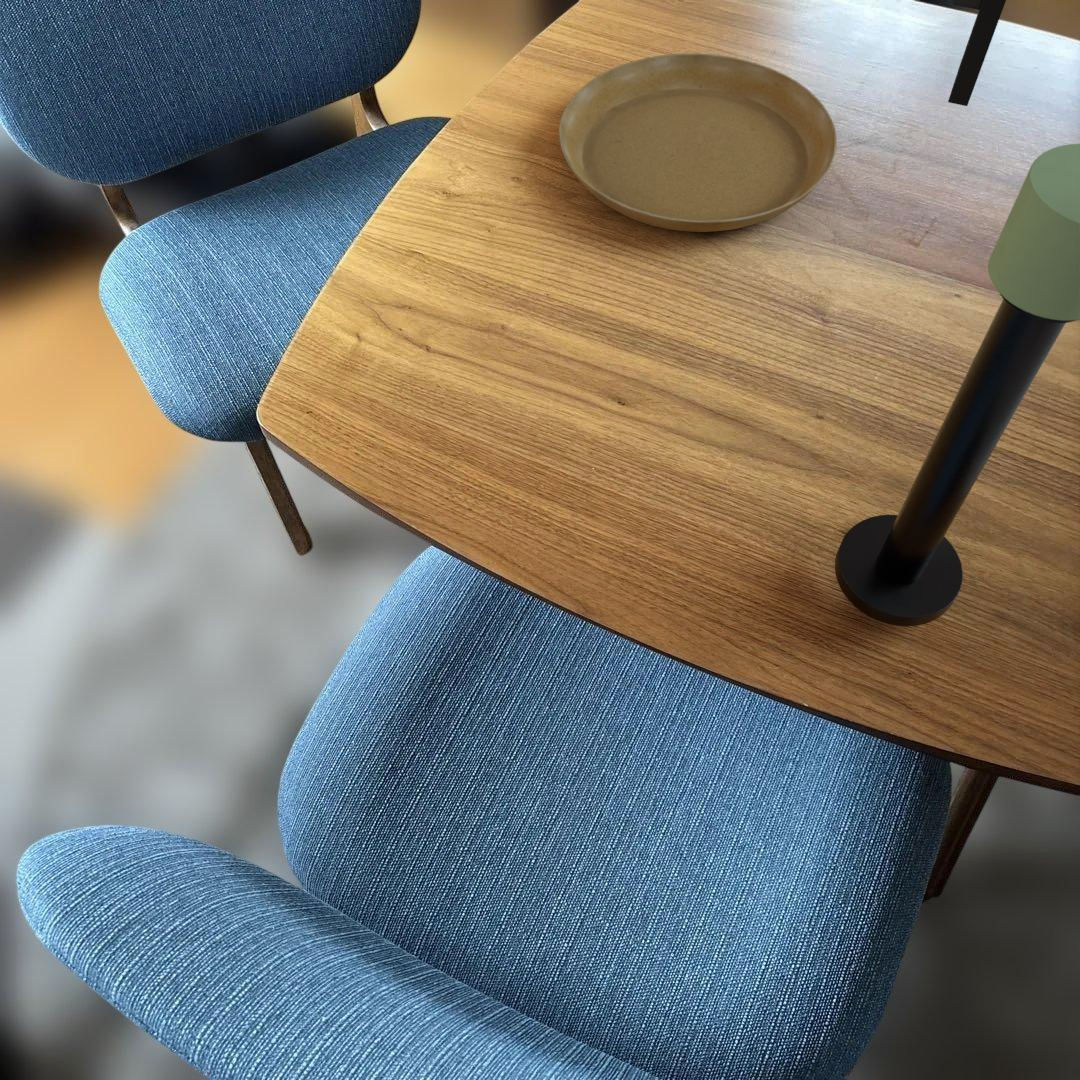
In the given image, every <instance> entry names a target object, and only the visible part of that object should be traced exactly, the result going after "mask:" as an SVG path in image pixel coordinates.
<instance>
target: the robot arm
mask: <svg viewBox="0 0 1080 1080" xmlns="http://www.w3.org/2000/svg"><path fill="white" fill-rule="evenodd" d="M952 2H953V3H952V4H953V6H956V7H961V8H968V9H971V10H978V11H977V15H976V17H975V19H974V23H973V25H972V28H971V32H970V35H969V37H968V41H967V43H966V45H965V48H964V51H963V52H964V53H963V55H962V58H961V60H960V63H959V66H958V70H957V73H956V75H955V79H954V82H953V85H952V87H951V91H950V94H949V97H948V100H947V103H950V104H955V105H959V106H965V107H968V106H969V102H970V99H971V97H972V94H973V92H974V89H975V87H976V84H977V80H978V78H979V75H980V73H981V70H982V67H983V65H984V62H985V60H986V56H987V54H988V51H989V48H990V45H991V43H992V40H993V37H994V34H995V32H996V29H997V26H998V24H999V21H1000V18H1001V15H1002V13H1003V10H1004V7H1005V6H1006V2H1007V0H952Z"/></svg>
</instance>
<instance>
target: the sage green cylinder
mask: <svg viewBox="0 0 1080 1080" xmlns="http://www.w3.org/2000/svg"><path fill="white" fill-rule="evenodd" d="M987 269H988V275H989V279H990V281H991V283H992V285H993V286H994V288H995V290H997V292H998V294H999V295H1000V294H1001V295H1002V296H1003V297H1004V298H1005V299H1007V300H1008V301H1009V302H1011V303H1012V304H1013V305H1015V306H1017V307H1018V308H1020V309H1022V310H1024V311H1026V312H1029V313H1031V314H1034V315H1037V316H1040V317H1044V318H1048V319H1054V320H1067V321H1069V320H1076V321H1078V320H1079V321H1080V143H1069V144H1064V145H1063V144H1062V145H1060V146H1055V147H1053V148H1050V149H1048V150H1046V151H1044V152H1042V153H1041V154H1040V155H1039V156H1037V157H1036V158H1035V159H1034V161H1033V162H1032V163H1031V166H1030V168H1029V170H1028V172H1027V173H1026V176H1025V179H1024V181H1023V183H1022V185H1021V188H1020V189H1019V191H1018V194H1017V197H1016V198H1015V201H1014V203H1013V205H1012V208H1011V210H1010V211H1009V213H1008V216H1007V218H1006V220H1005V223H1004V225H1003V227H1002V230H1001V232H1000V234H999V237H998V238H997V241H996V243H995V245H994V247H993V249H992V252H991V253H990V256H989V259H988V264H987ZM1001 295H1000V296H1001Z"/></svg>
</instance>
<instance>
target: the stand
mask: <svg viewBox="0 0 1080 1080" xmlns="http://www.w3.org/2000/svg"><path fill="white" fill-rule="evenodd" d="M999 295H1000V297H1001V298H1002V301H1001V303H1000V305H999V306H998V309H997V311H996V313H995V315H994V317H993V319H992V321H991V323H990V325H989V327H988V328H987V331H986V333H985V336H984V338H983V340H982V341H981V344H980V346H979V348H978V349H977V352H976V353H975V356H974V359H973V360H972V362H971V364H970V366H969V369H967V370H968V371H967V373H966V375H965V376H964V379H963V381H962V383H961V385H960V386H959V389H958V390H957V393H956V395H955V397H954V399H953V401H952V403H951V405H950V407H949V408H948V412H947V414H946V415H945V417H944V420H943V422H942V423H941V426H940V428H939V429H938V432H937V434H936V436H935V438H934V440H933V442H932V445H931V447H930V449H929V450H928V453H927V454H926V457H925V459H924V461H923V463H922V465H921V467H920V468H919V471H918V473H917V475H916V477H915V478H914V481H913V484H912V485H911V488H910V490H909V492H908V494H907V496H906V498H905V501H904V502H903V504H902V506H901V508H900V510H899V512H898V514H881V515H874V516H871V517H867V518H866V519H862V520H861V521H859V522H858V523H856V524H854V525H853V526H852V527H851V528H850V529H849V530H848V531H847V532H846V534H844V537H843V538H842V540H841V542H840V545H839V547H838V550H837V552H836V555H835V558H834V559H835V560H834V574H835V578H836V580H837V583H838V586H839V588H840V590H841V592H842V593H843V595H844V596H845V598H846V599H847V600H848V601H849V602H850V603H851V604H852V605H853V606H854V607H855V608H856V609H857V610H858V611H860V612H861V613H863V614H864V615H865V616H867V617H869V618H870V619H873V620H875V621H877V622H880V623H882V624H883V623H884V624H886V625H890V626H896V627H918V626H922V625H925V624H928V623H929V624H930V623H931V622H934V621H936V620H938V619H939V618H940V617H942V616H943V615H944V614H946V612H947V611H949V609H950V608H951V606H952V605H953V603H954V602H955V600H956V599H957V597H958V595H959V593H960V591H961V589H962V586H963V582H964V581H963V580H964V572H963V566H962V562H961V558H960V557H959V554H958V553H957V550H956V549H955V547H954V546H953V544H952V543H951V542H950V541H949V540H948V539H947V538H946V534H947V532H948V531H949V529H950V527H951V526H952V524H953V522H954V521H955V518H956V517H957V515H958V513H959V511H960V509H961V508H962V506H963V504H964V502H965V501H966V499H967V497H968V495H969V494H970V492H971V490H972V488H973V486H975V483H976V481H977V480H978V478H979V476H980V474H981V473H982V470H983V469H984V468H985V466H986V464H987V462H988V460H989V459H990V457H991V455H992V453H993V452H994V450H995V449H996V447H997V445H998V443H999V442H1000V440H1001V438H1002V436H1003V434H1004V432H1005V430H1006V429H1007V427H1008V426H1009V424H1010V422H1011V420H1012V419H1013V416H1014V415H1015V413H1016V411H1017V410H1018V408H1019V406H1020V404H1021V402H1022V401H1023V399H1024V397H1025V395H1026V394H1027V392H1028V390H1029V389H1030V387H1031V385H1032V384H1033V381H1034V380H1035V378H1036V376H1037V374H1038V373H1039V371H1040V370H1041V367H1042V366H1043V364H1044V362H1045V360H1046V359H1047V357H1048V355H1049V354H1050V351H1051V350H1052V348H1053V346H1054V345H1055V343H1056V341H1057V339H1058V338H1059V336H1060V334H1061V332H1062V331H1063V329H1064V327H1065V325H1066V324H1067V323H1072V322H1076V321H1077V320H1069V321H1067V320H1054V319H1048V318H1044V317H1040V316H1037V315H1034V314H1031V313H1029V312H1026V311H1024V310H1022V309H1020V308H1018V307H1017V306H1015V305H1013V304H1012V303H1011V302H1009V301H1008V300H1007V299H1005V298H1004V297H1003V296H1002V295H1001V294H1000V293H999Z"/></svg>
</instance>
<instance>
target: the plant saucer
mask: <svg viewBox="0 0 1080 1080" xmlns="http://www.w3.org/2000/svg"><path fill="white" fill-rule="evenodd" d="M558 138H559V145H560V149H561V152H562V154H563V157H564V159H565V162H566V163H567V166H568V167H569V169H570V170H571V172H572V173H573V175H574V176H575V177H576V179H577V180H578V182H579V183H580V184H581V185H582V186H583V187H584V188H585V189H586V190H587V191H588V192H589V193H590V195H593V196H594V197H595V198H596V199H597V200H599V201H600V202H601V203H603V204H604V205H605V206H607V207H608V208H610V209H612V210H614V211H616V212H618V213H619V214H622V215H624V216H625V217H628V218H630V219H632V220H634V221H638V222H640V223H643V224H646V225H650V226H653V227H657V228H662V229H666V230H673V231H680V232H697V233H707V232H708V233H710V232H711V233H712V232H721V231H730V230H737V229H741V228H745V227H749V226H753V225H756V224H759V223H762V222H765V221H767V220H769V219H772V218H774V217H776V216H778V215H780V214H783V213H784V212H786V211H788V210H790V209H791V208H792V207H794V206H796V205H797V204H798V203H800V202H801V201H802V200H804V199H805V198H806V197H807V196H809V195H810V194H811V193H812V192H813V191H814V190H815V189H816V188H817V187H818V186H819V184H820V183H821V182H822V181H823V180H824V178H825V177H826V176H827V174H828V172H829V171H830V169H831V167H832V166H833V162H834V160H835V158H836V154H837V149H838V136H837V131H836V127H835V124H834V121H833V118H832V116H831V115H830V113H829V111H828V109H826V107H825V106H824V104H823V103H822V102H821V101H820V100H819V98H818V97H817V96H816V95H815V94H813V92H812V91H811V90H809V89H808V88H807V87H805V86H804V85H803V84H801V83H800V82H799V81H797V80H795V79H794V78H792V77H790V76H789V75H786V74H784V73H783V72H780V71H778V70H776V69H774V68H772V67H769V66H767V65H764V64H760V63H757V62H755V61H751V60H747V59H743V58H738V57H733V56H728V55H721V54H713V53H698V52H697V53H696V52H695V53H694V52H693V53H690V52H688V53H669V54H661V55H654V56H648V57H644V58H640V59H636V60H632V61H628V62H626V63H623V64H620V65H617V66H616V67H613V68H611V69H608V70H606V71H604V72H603V73H601V74H599V75H598V76H595V77H594V78H592V79H591V80H590V81H589V82H587V83H586V84H585V85H584V86H582V87H581V88H580V89H579V90H578V91H577V92H576V93H575V94H574V96H572V98H571V99H570V101H568V104H567V105H566V107H565V109H564V111H563V112H562V115H561V118H560V122H559V130H558Z"/></svg>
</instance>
